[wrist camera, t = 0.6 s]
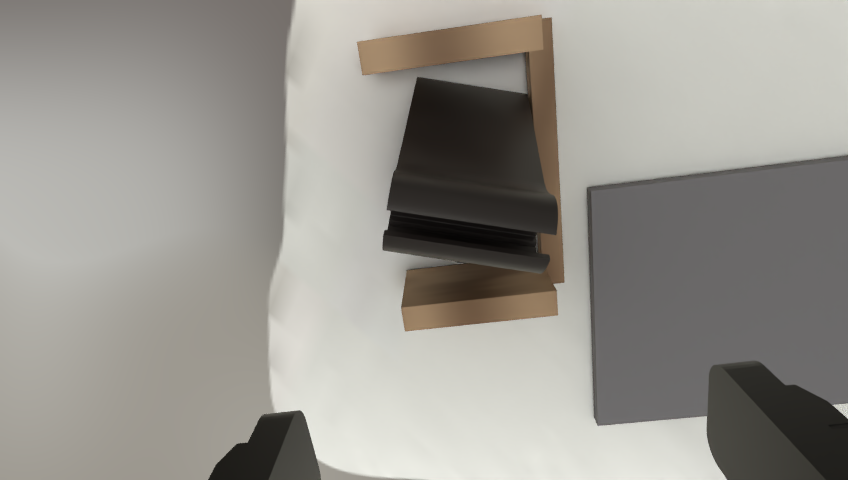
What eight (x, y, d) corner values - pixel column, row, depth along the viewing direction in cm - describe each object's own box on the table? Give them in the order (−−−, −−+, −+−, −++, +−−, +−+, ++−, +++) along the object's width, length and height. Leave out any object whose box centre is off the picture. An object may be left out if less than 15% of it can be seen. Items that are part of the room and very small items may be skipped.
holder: (546, 19, 26) (570, 10, 22) (559, 274, 31) (581, 312, 26) (371, 44, 27) (357, 41, 22) (410, 291, 32) (405, 331, 27)
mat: (882, 151, 28) (894, 154, 27) (843, 395, 33) (852, 402, 33) (587, 187, 29) (591, 191, 29) (594, 417, 35) (597, 425, 34)
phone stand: (417, 76, 28) (402, 88, 16) (527, 93, 28) (587, 118, 16) (395, 232, 31) (369, 334, 19) (494, 247, 31) (525, 357, 19)
